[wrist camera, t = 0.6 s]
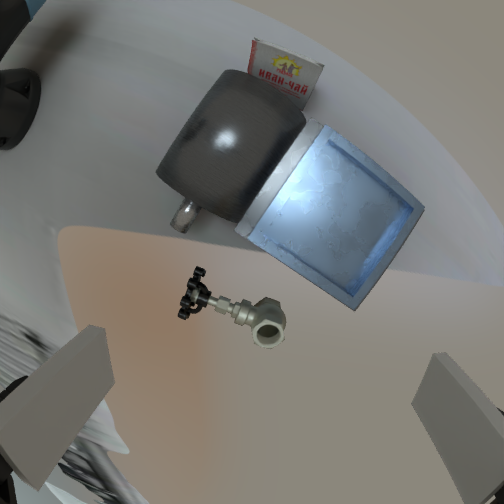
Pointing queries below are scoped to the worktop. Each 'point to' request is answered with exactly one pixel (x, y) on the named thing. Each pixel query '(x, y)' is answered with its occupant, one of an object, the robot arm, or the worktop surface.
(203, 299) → the valve
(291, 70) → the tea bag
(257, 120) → the motor
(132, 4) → the worktop surface
